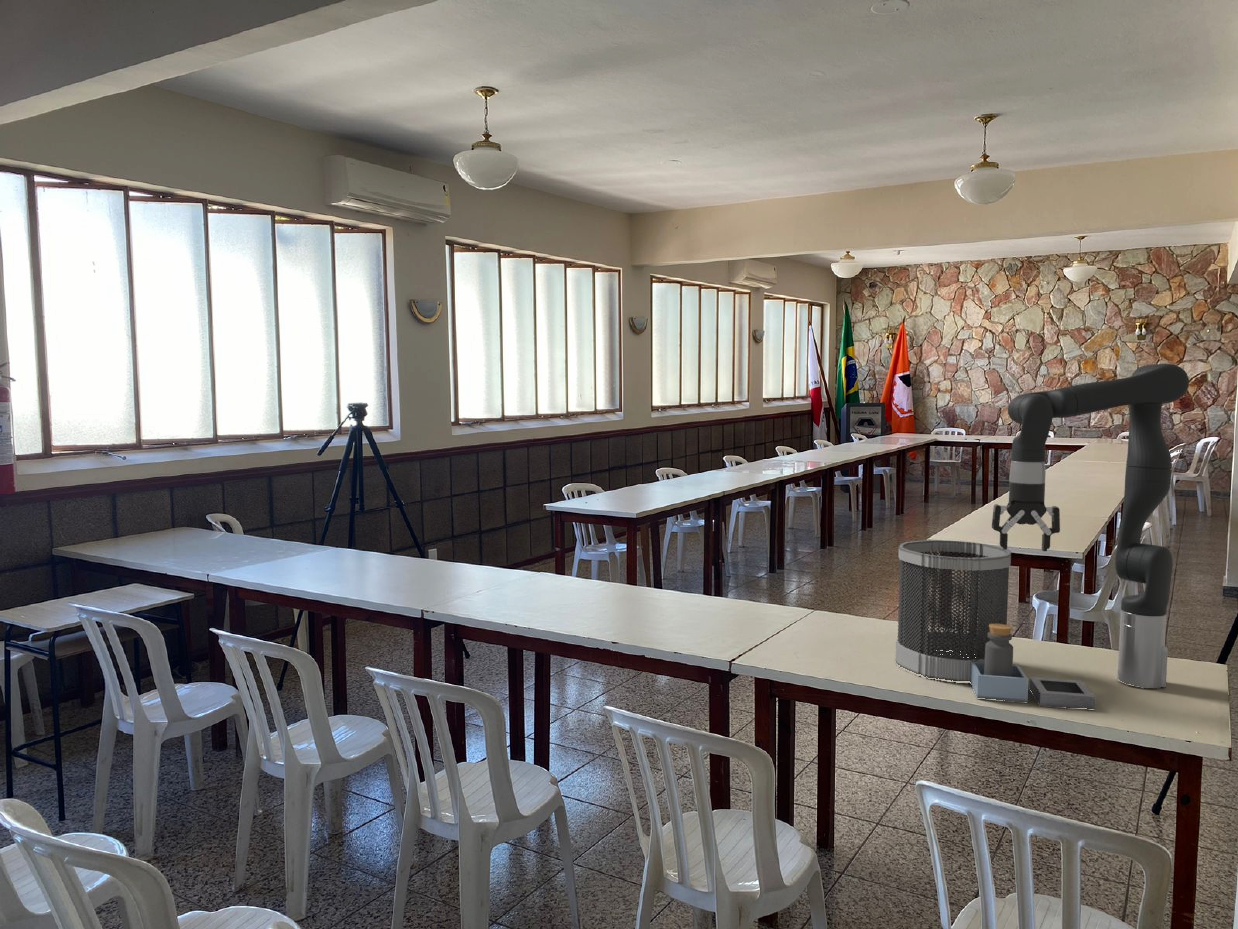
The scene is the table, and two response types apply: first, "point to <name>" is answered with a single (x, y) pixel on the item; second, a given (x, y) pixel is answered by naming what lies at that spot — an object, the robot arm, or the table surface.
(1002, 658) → the bottle
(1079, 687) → the collar
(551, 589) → the table surface
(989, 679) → the bin
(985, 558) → the wastebasket
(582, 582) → the table surface
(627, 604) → the table surface
